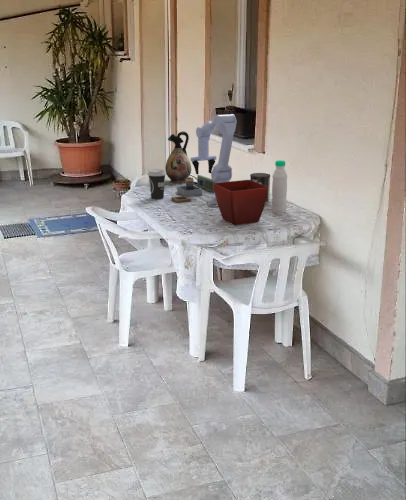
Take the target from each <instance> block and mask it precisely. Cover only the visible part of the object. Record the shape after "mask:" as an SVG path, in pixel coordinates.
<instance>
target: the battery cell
mask: <svg viewBox="0 0 406 500" xmlns="http://www.w3.org/2000/svg"><path fill="white" fill-rule="evenodd" d="M193 180H194V178H193V177H191V176H189V177H188V178H186V182H185V186H186V190H193V185H194V184H193V182H194V181H193Z"/></svg>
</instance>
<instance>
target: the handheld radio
mask: <svg viewBox="0 0 406 500" xmlns="http://www.w3.org/2000/svg"><path fill="white" fill-rule="evenodd" d="M196 179H197V180H196V181H197V182H196V181H193V185H195V186H197V187H199V188H201V189H202V190H207V191H209V192H211V193H212V192H213V193H215V190H214V183H215V182H214V181H213V180H212V178H210V177H207V176H204V175H201V174H197V178H196Z"/></svg>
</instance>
